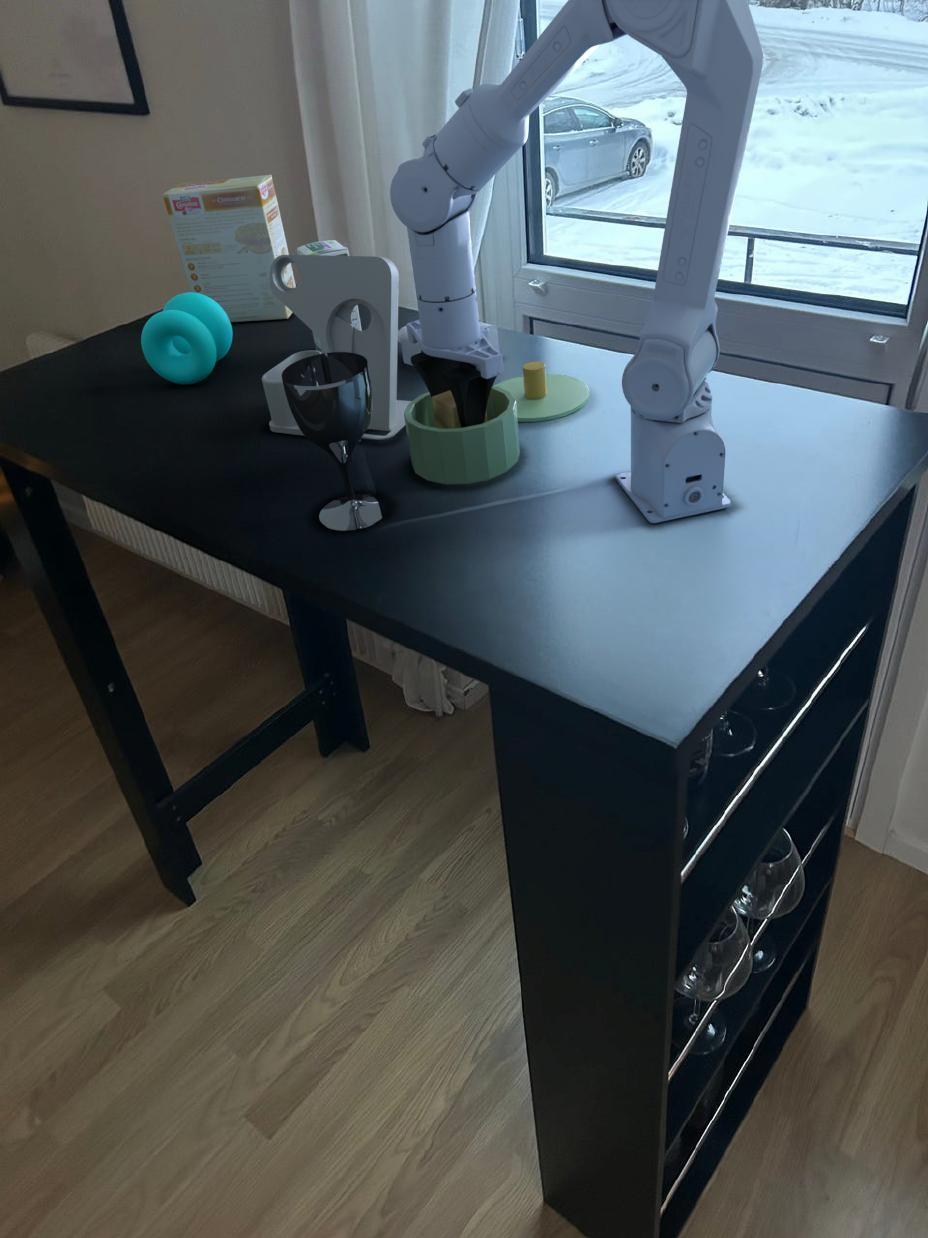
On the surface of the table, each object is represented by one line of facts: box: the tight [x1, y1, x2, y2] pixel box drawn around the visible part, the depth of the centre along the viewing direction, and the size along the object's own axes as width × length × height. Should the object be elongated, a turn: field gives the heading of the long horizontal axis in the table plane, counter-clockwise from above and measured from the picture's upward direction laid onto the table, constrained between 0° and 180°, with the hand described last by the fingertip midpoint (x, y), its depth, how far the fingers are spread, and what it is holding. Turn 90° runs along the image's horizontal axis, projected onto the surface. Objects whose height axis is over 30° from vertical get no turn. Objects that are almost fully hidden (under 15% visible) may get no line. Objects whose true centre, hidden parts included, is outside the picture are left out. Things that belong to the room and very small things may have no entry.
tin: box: [404, 385, 521, 485], centre depth 96 cm, size 11×11×6 cm
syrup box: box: [296, 239, 363, 352], centre depth 124 cm, size 6×6×14 cm
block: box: [432, 390, 488, 429], centre depth 95 cm, size 4×4×4 cm
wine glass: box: [281, 352, 385, 532], centre depth 88 cm, size 8×8×15 cm
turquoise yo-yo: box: [140, 291, 234, 386], centre depth 125 cm, size 10×10×10 cm
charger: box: [398, 321, 500, 367], centre depth 122 cm, size 5×9×15 cm
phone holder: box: [261, 254, 413, 443], centre depth 105 cm, size 17×10×18 cm, turn 65°
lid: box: [494, 360, 590, 423], centre depth 107 cm, size 12×12×5 cm
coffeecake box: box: [162, 174, 297, 323], centre depth 141 cm, size 15×7×20 cm, turn 82°
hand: (461, 424), depth 96 cm, fingers closed on block, 4 cm apart
